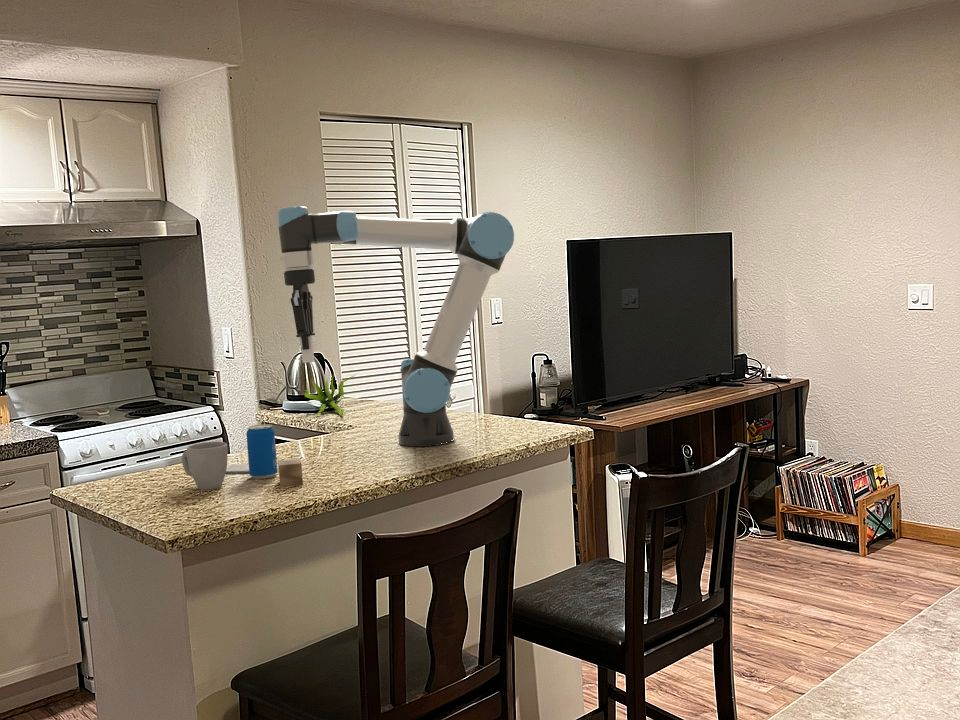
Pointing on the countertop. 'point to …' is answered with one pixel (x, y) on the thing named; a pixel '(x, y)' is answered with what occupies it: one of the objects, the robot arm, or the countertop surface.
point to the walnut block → (290, 472)
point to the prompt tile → (238, 469)
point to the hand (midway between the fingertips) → (308, 361)
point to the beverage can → (261, 451)
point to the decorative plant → (328, 396)
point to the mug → (206, 464)
